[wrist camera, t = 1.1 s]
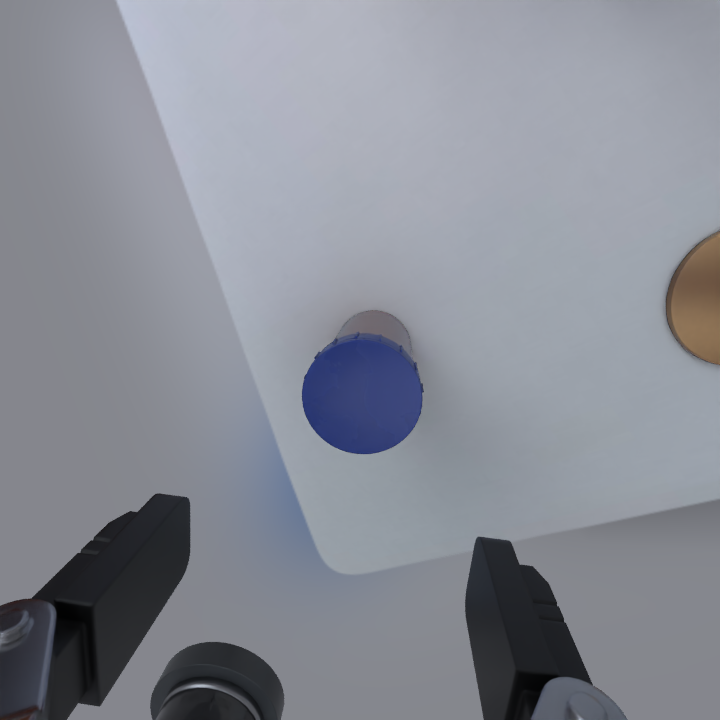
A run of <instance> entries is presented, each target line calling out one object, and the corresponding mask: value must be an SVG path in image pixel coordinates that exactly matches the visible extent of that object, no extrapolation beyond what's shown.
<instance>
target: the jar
mask: <svg viewBox="0 0 720 720" xmlns="http://www.w3.org/2000/svg"><path fill="white" fill-rule="evenodd" d="M357 332H359V333H371V334H376V335H380V334H382V336H383V337H386V338H388V339H390V340H392V341H394V342H395V343H397V344H398V345H399V346H400V345H402V346H403V349H404V350H405V351H406V352H407V353H408V354H409V355H410V357H411V358H412V349H411V341H410V337H409V334H408V332H407V330H406V328H405V327H404V325H403V324H402V323H401V322H400V321H399V320H398V319H397V318H396V317H394V316H392V315H390V314H388V313H386V312H382V311H373V310H372V311H365V312H361V313H359V314H357V315H355V316H353V317H352V318H350V319H349V320H348V321H347V322H346V323H345V324H344V326H343V327H342V329H341V330H340V332H339V333H338V335H337V336H336V338H337V339H339V338H341V337H344V336H346V335H350V334H356V333H357ZM412 360H413V358H412Z"/></svg>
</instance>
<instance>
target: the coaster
mask: <svg viewBox="0 0 720 720" xmlns="http://www.w3.org/2000/svg"><path fill="white" fill-rule="evenodd" d="M666 311H667V318H668V323H669V326H670V328H671V331H672V333H673V334H674V336H675V338H676V339H677V341H678V342H679V343H680V344H681V346H683V347H684V348H685V349H686V350H687V351H688V352H690V353H691V354H693V355H694V356H696V357H698V358H701V359H703V360H705V361H708V362H711V363H714V364H719V365H720V231H719V232H717V233H715V234H713V235H711V236H710V237H708V238H706V239H705V240H703V241H702V242H701V243H700V244H698V245H697V246H696V247H695V248H694V249H693V250H692V251H691V252H690V253H689V254H688V255H687V256H686V257H685V258H684V260H683V261H682V262H681V264H680V265H679V267H678V268H677V270H676V272H675V274H674V276H673V278H672V280H671V283H670V286H669V289H668V294H667V302H666Z"/></svg>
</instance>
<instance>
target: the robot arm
mask: <svg viewBox="0 0 720 720" xmlns="http://www.w3.org/2000/svg"><path fill="white" fill-rule="evenodd" d="M189 556H190V502H189V499H188V498H187V497H181V496H172V495H165V494H155V495H154V496H153V497H152V498H151V499H150V500H149V501H148V502H147V503H146V504H145V505H144V506H143V507H142V508H141V509H140V510H139V511H138V512H132V511H130V512H128V513H126V514H124V515H122V516H120V517H119V518H117V519H115V520H113V521H111V522H110V523H108V524H107V525H106V526H105V527H104V528H103V529H102V530H101V531H100V532H99V533H98V534H97V535H96V536H95V537H94V540H93V541H90V542H89V543H88V544H87V545H86V546H85V547H84V548H83V549H82V550H81V553H77V554H76V555H75V556H74V557H73V558H72V559H71V560H70V561H69V562H68V563H67V564H66V565H65V566H64V567H63V568H62V569H61V570H60V571H59V572H58V573H57V574H56V575H55V576H54V577H53V578H52V579H51V580H50V581H49V582H48V583H47V584H46V585H45V586H44V587H43V588H42V589H41V590H40V591H39V592H38V593H36V594H35V596H33V597H32V598H31V599H22V600H16V601H13V602H9V603H6V604H3V605H1V606H0V720H67V718H68V717H69V715H70V714H71V712H72V711H73V710H74V708H75V707H76V705H77V704H78V703H81V704H88V705H94V706H100V705H101V704H102V702H103V701H104V699H105V697H106V696H107V694H108V693H109V691H110V690H111V688H112V687H113V685H114V684H115V682H116V680H117V679H118V677H119V676H120V674H121V673H122V671H123V670H124V668H125V666H126V665H127V663H128V662H129V660H130V658H131V657H132V655H133V654H134V652H135V651H136V649H137V648H138V646H139V645H140V643H141V641H142V640H143V638H144V637H145V635H146V634H147V632H148V630H149V629H150V627H151V626H152V624H153V623H154V621H155V619H156V618H157V617H158V615H159V613H160V612H161V610H162V609H163V607H164V606H165V604H166V602H167V600H168V599H169V598H170V596H171V595H172V593H173V592H174V590H175V588H176V587H177V585H178V584H179V582H180V581H181V579H182V577H183V575H184V573H185V571H186V568H187V565H188V561H189ZM465 612H466V621H467V627H468V632H469V638H470V644H471V649H472V655H473V661H474V667H475V672H476V678H477V683H478V689H479V695H480V700H481V706H482V711H483V718H484V720H627V718H626V716H625V715H624V713H623V712H622V710H621V709H620V708H619V707H618V706H617V704H616V703H615V702H614V701H613V700H612V699H611V698H610V697H609V696H607V695H606V694H605V693H604V692H602V691H601V690H599V689H598V688H596V687H595V686H593V684H592V682H591V680H590V678H589V675H588V673H587V671H586V668H585V666H584V664H583V662H582V659H581V657H580V655H579V652H578V650H577V648H576V645H575V643H574V641H573V638H572V636H571V634H570V631H569V629H568V627H567V625H566V623H564V618H563V615H562V613H561V611H560V608H559V607H558V606H557V602H556V599H555V597H554V595H553V593H552V590H551V588H550V586H549V584H548V582H547V581H546V580H545V579H544V578H543V577H542V576H541V575H540V574H539V573H538V572H537V571H536V569H535V568H534V567H533V566H527V565H519V562H518V560H517V557H516V554H515V551H514V549H513V546H512V544H511V542H510V541H508V540H501V539H493V538H485V537H477V539H476V542H475V546H474V551H473V557H472V562H471V568H470V573H469V578H468V584H467V589H466V600H465ZM156 720H264V719H263V715H262V712H261V710H260V708H259V706H258V704H257V703H256V701H255V700H254V699H253V698H252V697H251V696H250V695H249V694H248V693H247V692H246V691H245V690H243V689H242V688H240V687H239V686H237V685H235V684H233V683H231V682H229V681H226V680H223V679H219V678H214V677H195V678H190V679H187V680H184V681H182V682H180V683H178V684H177V685H175V686H174V687H173V688H172V689H171V690H170V691H169V693H168V694H167V696H166V698H165V700H164V702H163V704H162V706H161V708H160V711H159V714H158V716H157V718H156Z"/></svg>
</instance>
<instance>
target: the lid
mask: <svg viewBox="0 0 720 720" xmlns="http://www.w3.org/2000/svg"><path fill="white" fill-rule="evenodd" d="M314 359H315V360H314V362H313V363H312V365H311V366H310V368H309V370H308V372H307V374H306V375H305V377H304V383H303V389H302V402H303V408H304V411H305V414H306V417H307V419H308V421H309V423H310V425H311V426H312V428H313V429H314V430H315V432H316V433H317V434H318V435H319V436H320V437H321V438H322V439H323V440H325V441H326V442H327V443H329V444H330V445H332V446H334V447H336V448H338V449H340V450H343V451H346V452H350V453H355V454H372V453H378V452H381V451H384V450H387V449H389V448H392V447H393V446H395V445H397V444H398V443H400V442H401V441H402V440H403V439H405V438H406V437H407V436H408V434H409V433H410V432H411V431H412V429H413V428H414V427H415V425H416V423H417V421H418V418H419V416H420V414H421V408H422V392H424V391H423V384H422V383H421V381H420V377H419V373H418V369H417V363H416V362H415V363H414V361H413V360H412V358H411V357H410V355H409V354H408V353H407V352H406V351H405V350H404V349H403V346H402V345H400V346H399V345H398V344H397V343H395V342H394V341H392V340H390V339H388V338H386V337H383V336H382V334H380V335H376V334H371V333H359V332H357V333H356V334H350V335H346V336H344V337H341V338H339V339H337V338H335V339H334V341H333V342H332V343H330V344H329V345H327V346H326V347H325V348H324V349H323V350H322V351H321V352H320V351H319V352H318V353H317V355H316V356H315V358H314Z"/></svg>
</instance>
